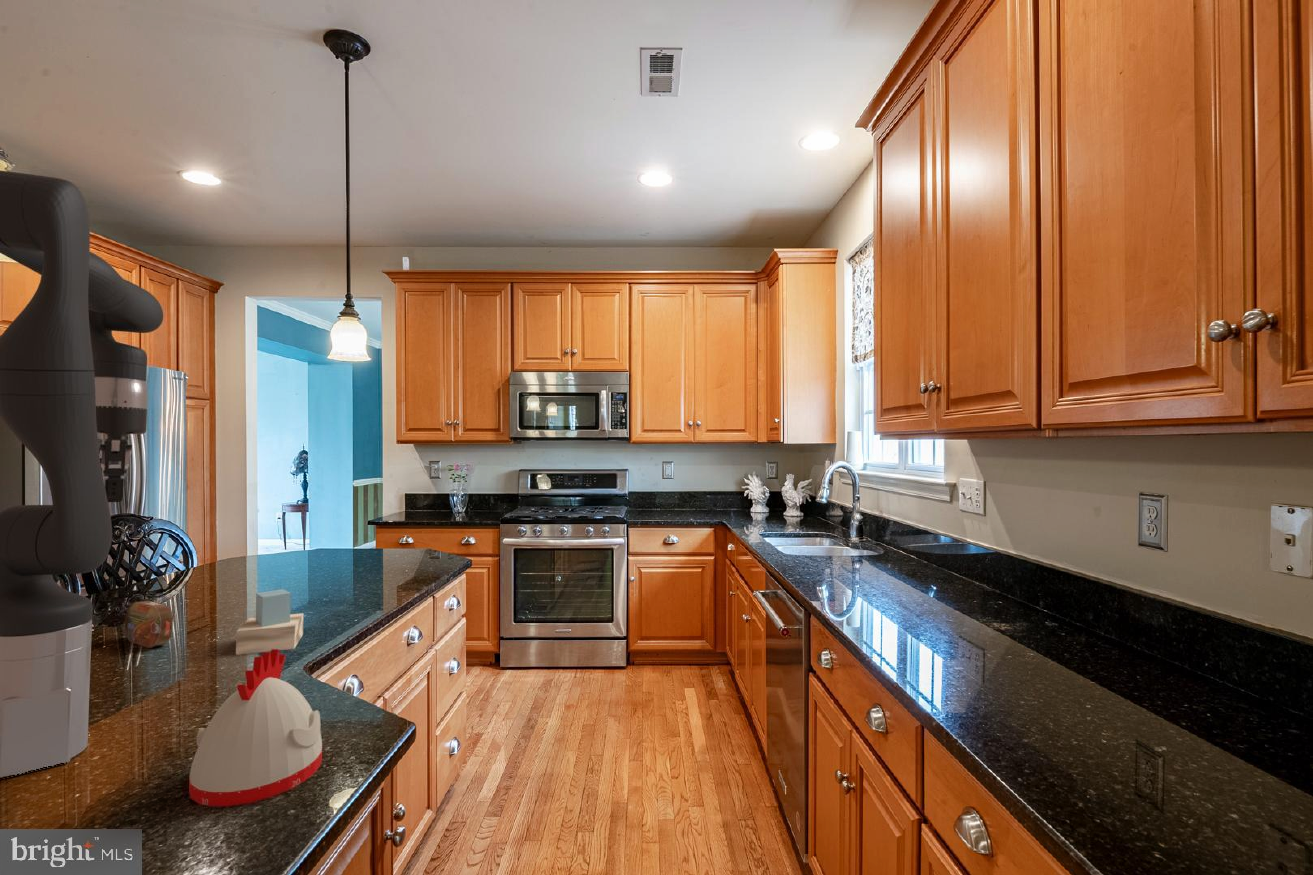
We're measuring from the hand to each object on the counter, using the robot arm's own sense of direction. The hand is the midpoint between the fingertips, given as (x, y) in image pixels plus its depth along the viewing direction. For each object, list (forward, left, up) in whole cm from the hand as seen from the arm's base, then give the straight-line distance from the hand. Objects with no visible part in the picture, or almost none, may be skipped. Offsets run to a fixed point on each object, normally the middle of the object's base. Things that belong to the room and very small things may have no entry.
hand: (114, 500), depth 99 cm
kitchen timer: (-47, -15, -32) cm, 59 cm away
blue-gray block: (+9, -25, -27) cm, 38 cm away
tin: (+26, -6, -32) cm, 42 cm away
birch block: (+9, -25, -32) cm, 42 cm away
